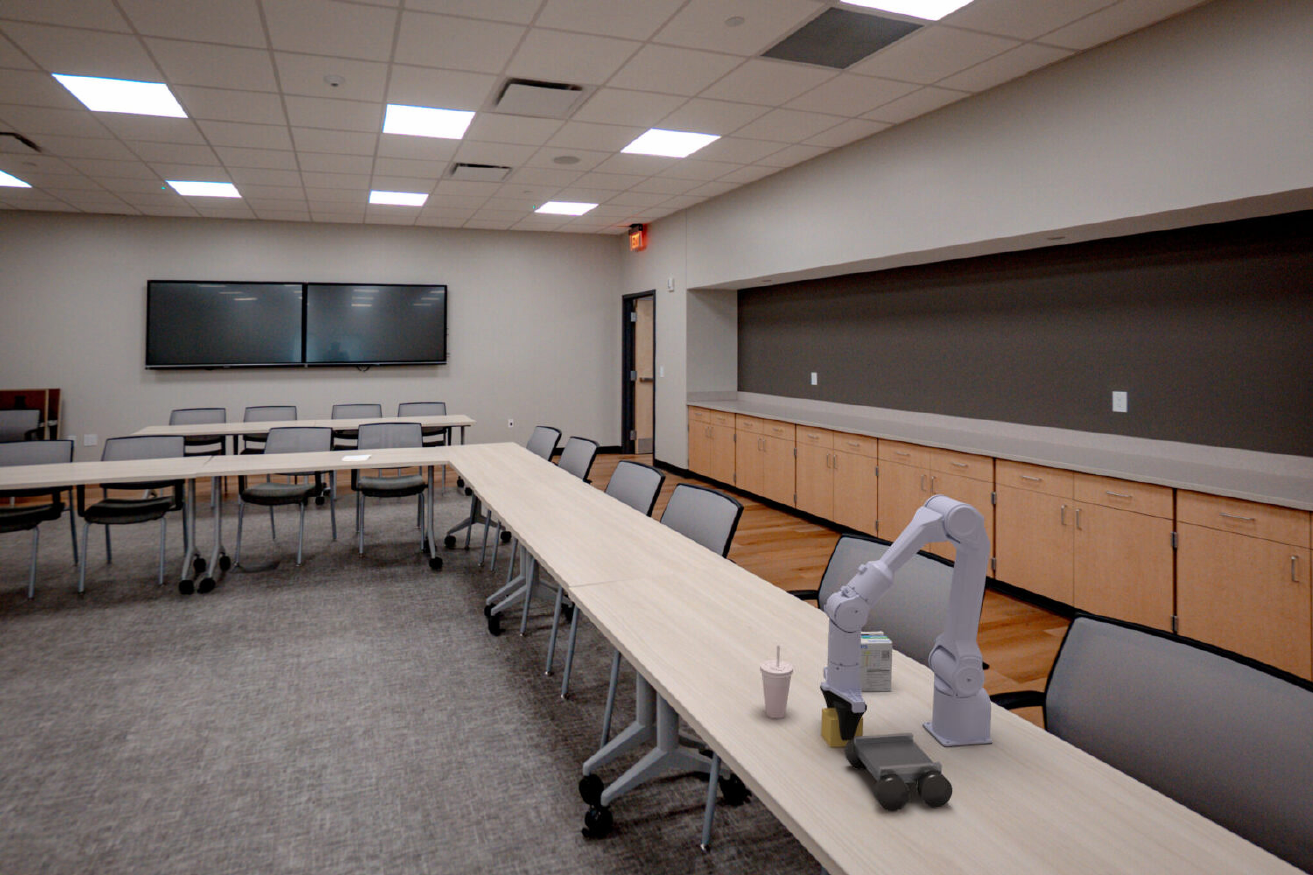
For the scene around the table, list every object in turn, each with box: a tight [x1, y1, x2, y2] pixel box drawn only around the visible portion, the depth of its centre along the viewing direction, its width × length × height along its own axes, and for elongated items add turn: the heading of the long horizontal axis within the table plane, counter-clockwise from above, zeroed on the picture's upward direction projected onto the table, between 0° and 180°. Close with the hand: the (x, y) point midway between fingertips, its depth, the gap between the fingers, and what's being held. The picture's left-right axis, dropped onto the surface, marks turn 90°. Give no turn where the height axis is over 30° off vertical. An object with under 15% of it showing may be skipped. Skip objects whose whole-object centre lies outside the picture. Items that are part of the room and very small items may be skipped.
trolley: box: [843, 732, 953, 812], centre depth 117 cm, size 12×13×6 cm
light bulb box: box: [860, 631, 893, 692], centre depth 154 cm, size 11×7×11 cm, turn 92°
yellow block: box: [820, 707, 864, 748], centre depth 132 cm, size 6×4×5 cm
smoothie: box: [759, 644, 794, 720], centre depth 141 cm, size 6×6×14 cm
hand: (841, 732), depth 132 cm, fingers closed on yellow block, 4 cm apart
